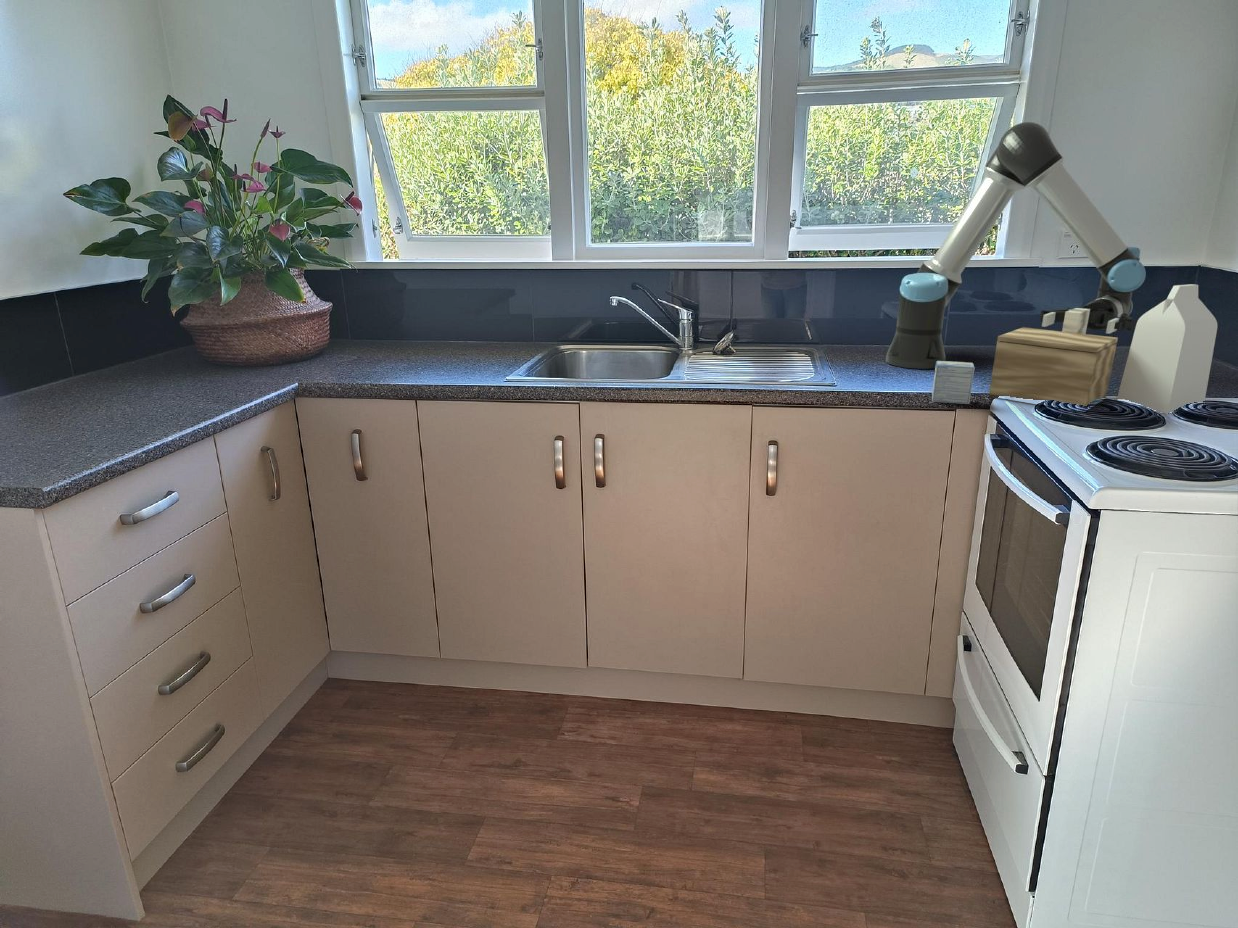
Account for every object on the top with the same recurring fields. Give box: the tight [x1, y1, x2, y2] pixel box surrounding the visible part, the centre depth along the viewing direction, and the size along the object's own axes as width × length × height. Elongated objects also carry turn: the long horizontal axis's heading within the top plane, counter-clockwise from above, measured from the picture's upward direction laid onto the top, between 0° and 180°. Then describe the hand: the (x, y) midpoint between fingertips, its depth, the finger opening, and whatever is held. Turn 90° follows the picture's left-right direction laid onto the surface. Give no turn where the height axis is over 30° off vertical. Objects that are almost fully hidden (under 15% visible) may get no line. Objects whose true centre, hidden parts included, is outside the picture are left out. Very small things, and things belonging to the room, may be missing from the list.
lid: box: [996, 307, 1119, 353], centre depth 182 cm, size 24×20×8 cm
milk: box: [1116, 283, 1218, 415], centre depth 173 cm, size 12×12×26 cm
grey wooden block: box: [931, 360, 975, 405], centre depth 180 cm, size 8×4×9 cm, turn 71°
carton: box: [988, 340, 1118, 406], centre depth 181 cm, size 16×20×13 cm
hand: (1075, 324), depth 186 cm, fingers open, 13 cm apart
